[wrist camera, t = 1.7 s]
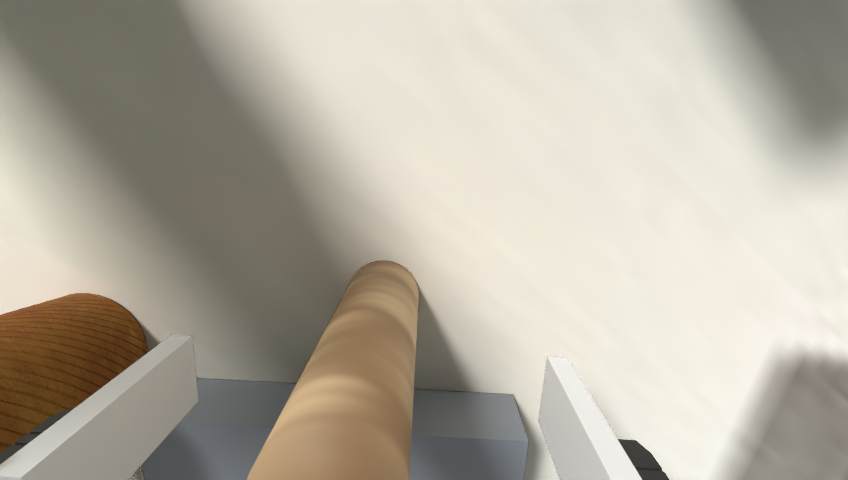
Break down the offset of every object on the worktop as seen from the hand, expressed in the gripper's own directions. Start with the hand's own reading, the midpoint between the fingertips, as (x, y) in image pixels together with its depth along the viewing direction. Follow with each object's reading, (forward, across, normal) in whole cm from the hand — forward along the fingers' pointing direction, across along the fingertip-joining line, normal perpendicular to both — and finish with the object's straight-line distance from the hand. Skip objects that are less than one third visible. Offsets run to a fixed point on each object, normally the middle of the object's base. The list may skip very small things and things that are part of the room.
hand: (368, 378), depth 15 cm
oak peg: (+9, 0, 0) cm, 9 cm away
